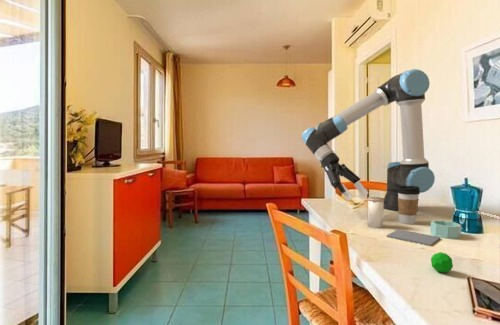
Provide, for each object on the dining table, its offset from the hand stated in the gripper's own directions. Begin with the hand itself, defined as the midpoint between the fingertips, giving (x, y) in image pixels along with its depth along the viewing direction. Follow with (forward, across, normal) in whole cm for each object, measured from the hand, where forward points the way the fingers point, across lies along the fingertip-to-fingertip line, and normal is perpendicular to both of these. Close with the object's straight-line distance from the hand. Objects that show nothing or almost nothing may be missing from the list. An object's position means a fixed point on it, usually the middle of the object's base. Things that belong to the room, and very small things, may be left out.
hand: (358, 196), depth 132 cm
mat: (+24, +5, +9) cm, 26 cm away
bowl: (+29, -7, +14) cm, 33 cm away
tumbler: (+12, -1, -3) cm, 13 cm away
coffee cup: (+17, -16, +2) cm, 24 cm away
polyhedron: (+35, +31, +19) cm, 50 cm away
